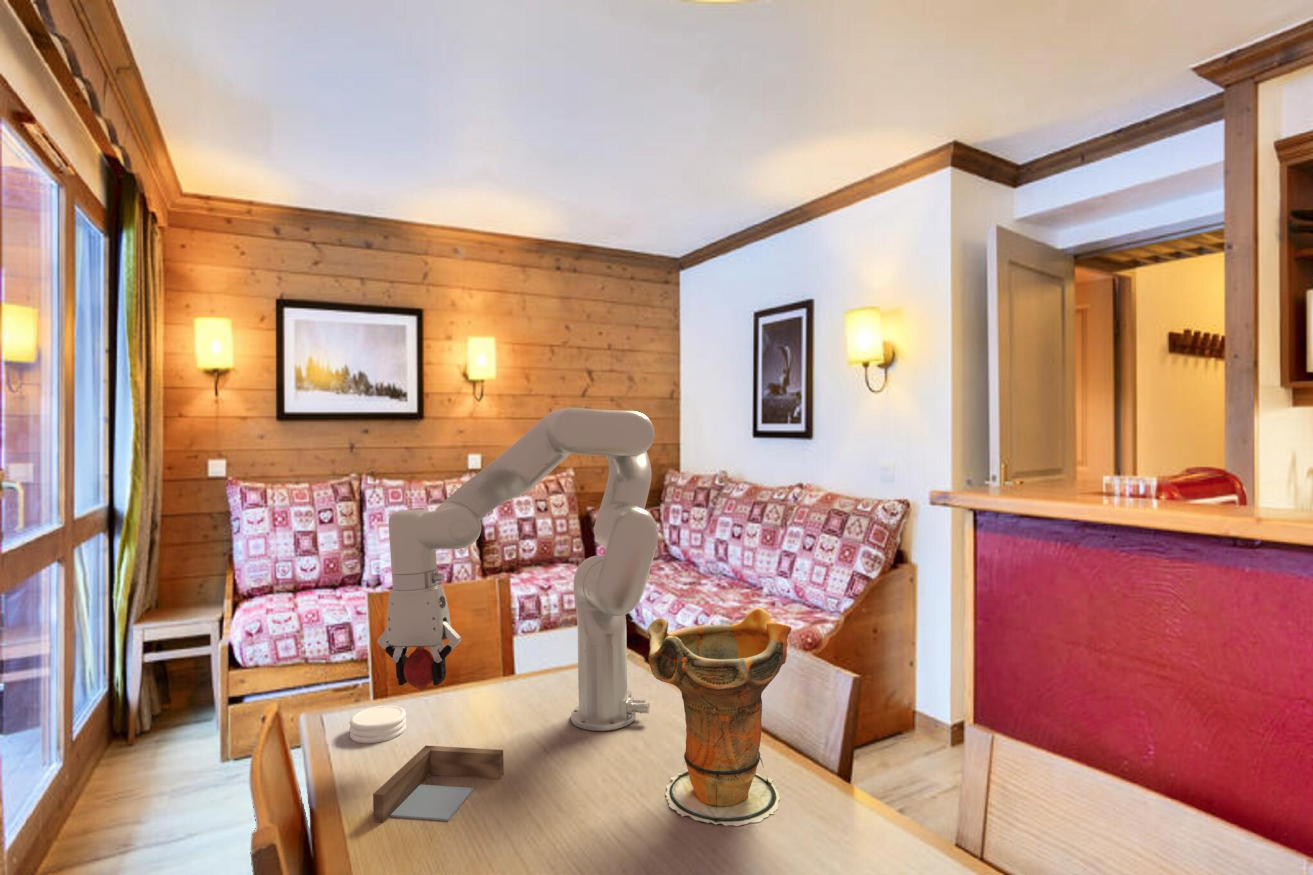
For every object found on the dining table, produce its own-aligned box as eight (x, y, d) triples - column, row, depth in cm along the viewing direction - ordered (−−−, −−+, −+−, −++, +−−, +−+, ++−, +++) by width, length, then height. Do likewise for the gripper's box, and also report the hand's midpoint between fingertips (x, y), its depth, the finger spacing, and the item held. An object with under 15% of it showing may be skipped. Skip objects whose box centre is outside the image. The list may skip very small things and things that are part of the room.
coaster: (352, 726, 137) (352, 708, 137) (407, 719, 140) (406, 701, 140) (347, 748, 127) (346, 728, 127) (405, 739, 130) (405, 721, 130)
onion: (428, 696, 121) (425, 650, 121) (398, 695, 122) (395, 649, 122) (445, 683, 126) (442, 639, 126) (416, 683, 128) (413, 639, 127)
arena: (503, 773, 116) (503, 749, 116) (462, 828, 100) (461, 799, 100) (426, 769, 118) (425, 745, 118) (373, 821, 102) (373, 794, 102)
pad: (473, 789, 111) (473, 787, 111) (448, 820, 102) (448, 818, 102) (420, 786, 113) (420, 784, 113) (390, 816, 104) (390, 814, 104)
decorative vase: (623, 775, 114) (630, 602, 114) (750, 758, 122) (756, 595, 122) (672, 846, 94) (679, 636, 95) (819, 819, 103) (825, 626, 103)
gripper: (470, 574, 126) (476, 674, 127) (381, 576, 129) (387, 674, 129) (452, 584, 119) (458, 691, 119) (357, 586, 121) (364, 690, 122)
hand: (421, 681), depth 124 cm, fingers closed on onion, 5 cm apart
